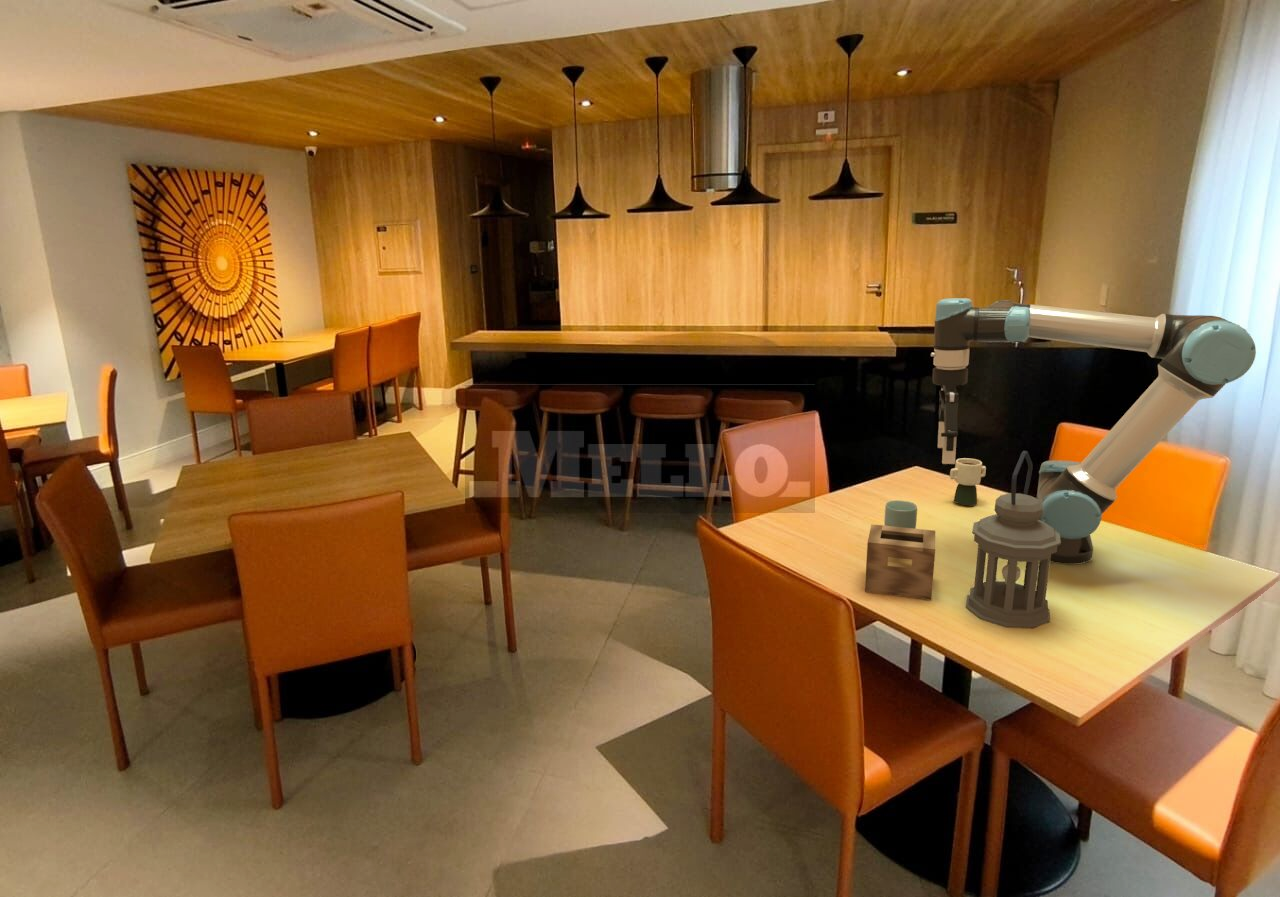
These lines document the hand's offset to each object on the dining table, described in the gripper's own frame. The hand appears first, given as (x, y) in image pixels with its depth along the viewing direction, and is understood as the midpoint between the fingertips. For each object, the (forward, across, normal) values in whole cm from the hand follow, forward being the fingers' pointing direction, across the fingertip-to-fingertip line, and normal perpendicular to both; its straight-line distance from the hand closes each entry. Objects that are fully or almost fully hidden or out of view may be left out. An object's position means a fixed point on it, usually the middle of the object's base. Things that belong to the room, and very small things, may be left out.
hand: (946, 455), depth 179 cm
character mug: (+26, -40, +10) cm, 49 cm away
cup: (+26, -8, -10) cm, 29 cm away
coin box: (+26, +18, -10) cm, 33 cm away
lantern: (+27, +25, +11) cm, 38 cm away
